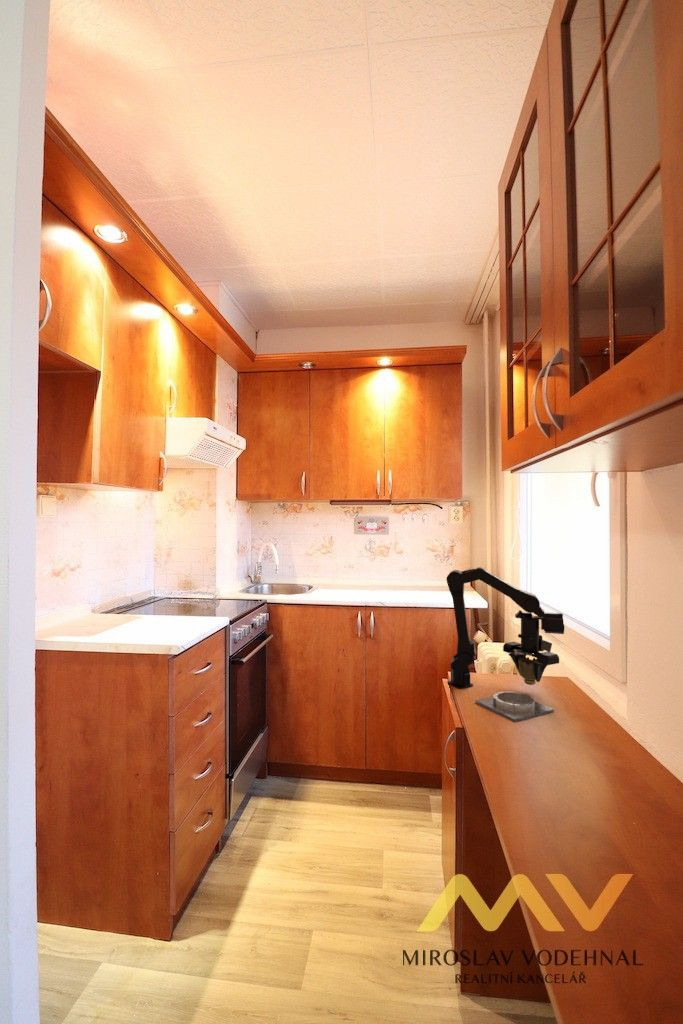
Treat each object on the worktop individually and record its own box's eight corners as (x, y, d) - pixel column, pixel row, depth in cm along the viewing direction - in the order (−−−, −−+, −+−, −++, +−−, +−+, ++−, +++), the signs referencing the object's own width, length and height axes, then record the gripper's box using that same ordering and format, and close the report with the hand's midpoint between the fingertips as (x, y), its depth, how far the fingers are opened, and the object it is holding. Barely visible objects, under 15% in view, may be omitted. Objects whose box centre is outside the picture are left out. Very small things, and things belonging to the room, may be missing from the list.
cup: (543, 682, 160) (543, 658, 161) (539, 689, 154) (539, 664, 154) (520, 678, 164) (520, 655, 165) (515, 684, 158) (515, 660, 158)
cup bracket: (475, 702, 150) (475, 693, 150) (512, 694, 157) (512, 685, 157) (515, 722, 135) (515, 712, 135) (553, 711, 143) (553, 702, 143)
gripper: (570, 635, 155) (570, 683, 155) (524, 624, 172) (524, 667, 171) (547, 639, 150) (547, 689, 150) (502, 627, 166) (501, 672, 166)
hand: (529, 678), depth 159 cm, fingers closed on cup, 6 cm apart
